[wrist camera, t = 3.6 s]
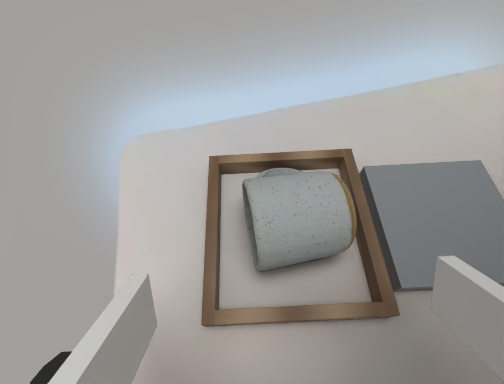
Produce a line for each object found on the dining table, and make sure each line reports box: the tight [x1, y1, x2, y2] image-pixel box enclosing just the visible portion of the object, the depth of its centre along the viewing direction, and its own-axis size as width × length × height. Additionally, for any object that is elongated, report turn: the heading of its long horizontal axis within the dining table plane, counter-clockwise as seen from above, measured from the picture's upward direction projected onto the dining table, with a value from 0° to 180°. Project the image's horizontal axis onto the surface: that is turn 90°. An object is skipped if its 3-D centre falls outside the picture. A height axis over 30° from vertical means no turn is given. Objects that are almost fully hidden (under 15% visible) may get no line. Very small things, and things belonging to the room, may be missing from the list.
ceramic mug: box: [242, 168, 357, 271], centre depth 23 cm, size 11×8×8 cm
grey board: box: [359, 160, 504, 291], centre depth 25 cm, size 12×12×2 cm
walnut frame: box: [201, 149, 400, 327], centre depth 25 cm, size 15×16×2 cm
